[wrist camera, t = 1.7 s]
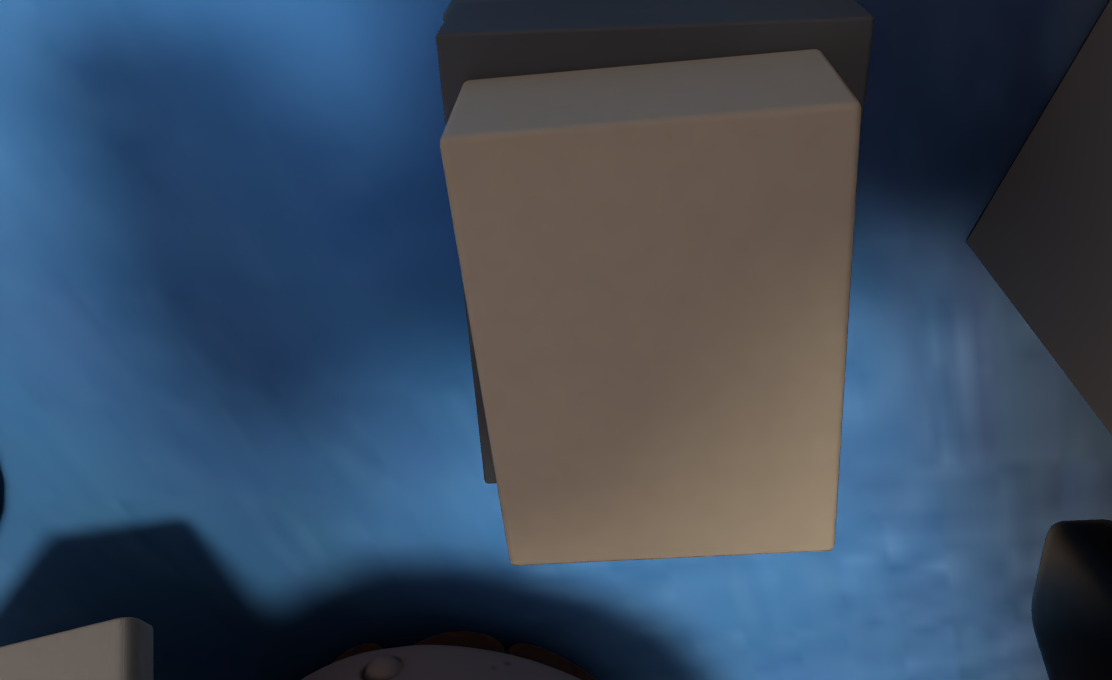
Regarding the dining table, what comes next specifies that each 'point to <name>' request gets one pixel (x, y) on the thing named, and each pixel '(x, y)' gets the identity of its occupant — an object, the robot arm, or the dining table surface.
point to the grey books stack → (636, 50)
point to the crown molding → (84, 653)
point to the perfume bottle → (1063, 224)
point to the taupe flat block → (660, 301)
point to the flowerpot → (451, 661)
